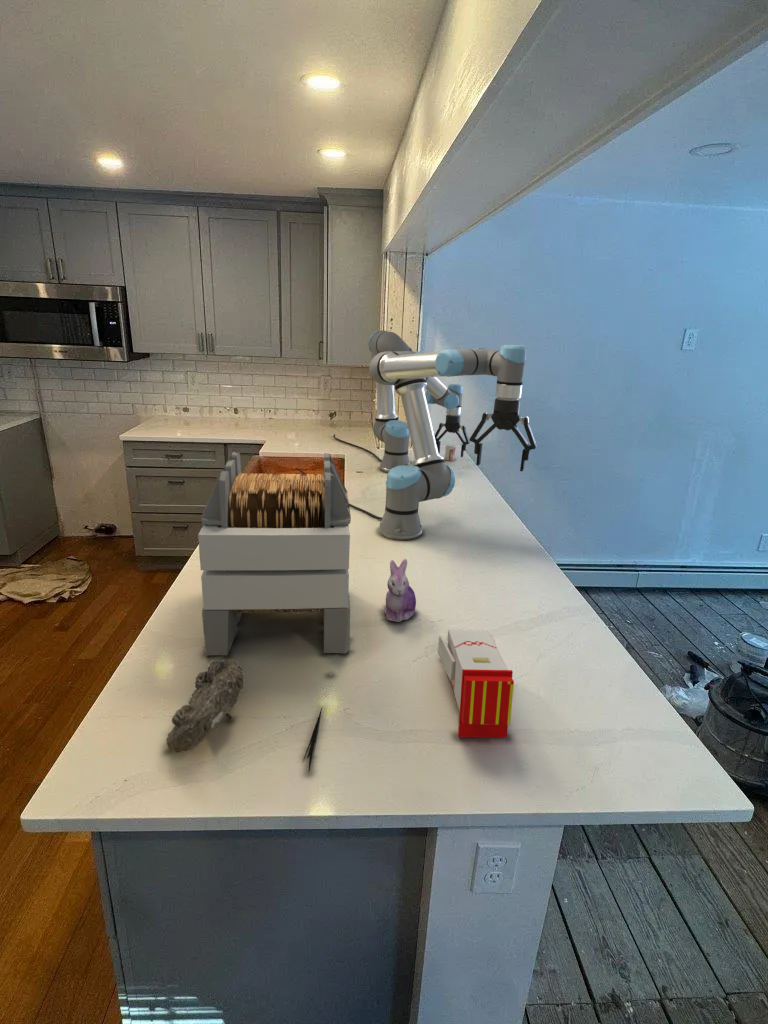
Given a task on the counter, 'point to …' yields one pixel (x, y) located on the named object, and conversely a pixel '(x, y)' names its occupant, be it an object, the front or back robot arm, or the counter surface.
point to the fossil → (206, 705)
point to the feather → (313, 740)
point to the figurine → (399, 594)
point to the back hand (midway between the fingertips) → (450, 455)
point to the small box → (450, 452)
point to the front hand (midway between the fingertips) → (499, 467)
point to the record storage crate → (275, 551)
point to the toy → (478, 682)
